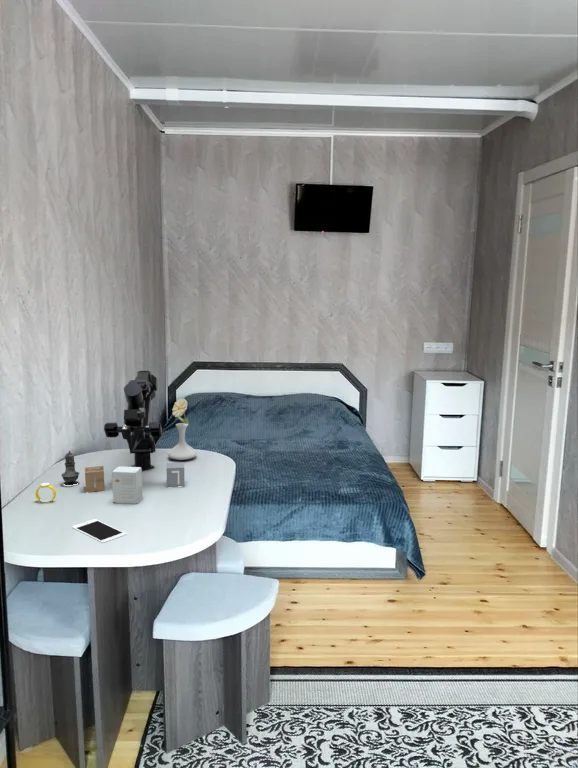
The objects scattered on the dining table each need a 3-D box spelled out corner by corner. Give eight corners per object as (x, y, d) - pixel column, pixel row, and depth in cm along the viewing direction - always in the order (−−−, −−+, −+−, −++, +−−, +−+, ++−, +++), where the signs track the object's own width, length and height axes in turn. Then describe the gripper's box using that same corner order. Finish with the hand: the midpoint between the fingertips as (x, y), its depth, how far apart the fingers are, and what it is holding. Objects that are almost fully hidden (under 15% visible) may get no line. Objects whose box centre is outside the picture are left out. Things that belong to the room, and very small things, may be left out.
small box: (143, 497, 197) (142, 467, 195) (137, 504, 192) (136, 472, 190) (119, 496, 198) (118, 465, 196) (112, 502, 192) (111, 471, 191)
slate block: (167, 482, 213) (166, 463, 212) (184, 481, 214) (184, 462, 213) (166, 488, 207) (166, 468, 206) (184, 487, 208) (184, 467, 207)
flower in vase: (165, 455, 244) (163, 395, 240) (192, 452, 249) (192, 393, 244) (172, 464, 232) (171, 401, 228) (201, 461, 237) (200, 399, 233)
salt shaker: (58, 485, 208) (56, 451, 206) (70, 480, 213) (68, 447, 211) (71, 487, 205) (70, 453, 203) (83, 482, 211) (82, 449, 209)
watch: (35, 504, 191) (33, 486, 190) (39, 501, 194) (36, 483, 193) (54, 502, 191) (52, 484, 190) (57, 499, 194) (55, 482, 193)
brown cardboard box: (85, 487, 207) (84, 466, 205) (104, 485, 209) (103, 465, 207) (85, 493, 201) (84, 472, 200) (104, 491, 203) (103, 470, 202)
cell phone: (95, 520, 179) (95, 518, 179) (127, 535, 169) (127, 533, 169) (71, 528, 173) (71, 526, 173) (102, 544, 163) (102, 542, 163)
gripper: (104, 399, 203) (98, 439, 194) (160, 399, 205) (157, 439, 196) (109, 417, 212) (104, 456, 203) (163, 416, 214) (160, 455, 205)
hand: (131, 451), depth 201 cm, fingers closed
